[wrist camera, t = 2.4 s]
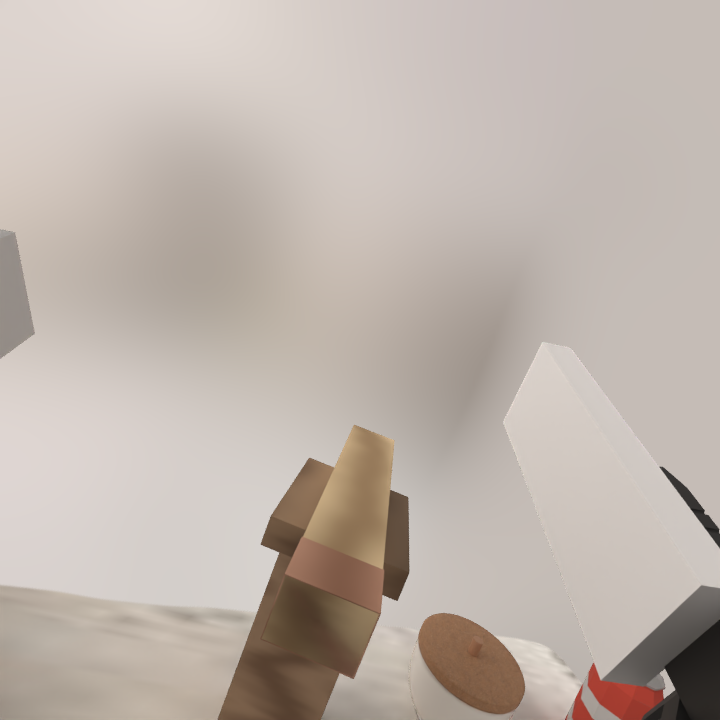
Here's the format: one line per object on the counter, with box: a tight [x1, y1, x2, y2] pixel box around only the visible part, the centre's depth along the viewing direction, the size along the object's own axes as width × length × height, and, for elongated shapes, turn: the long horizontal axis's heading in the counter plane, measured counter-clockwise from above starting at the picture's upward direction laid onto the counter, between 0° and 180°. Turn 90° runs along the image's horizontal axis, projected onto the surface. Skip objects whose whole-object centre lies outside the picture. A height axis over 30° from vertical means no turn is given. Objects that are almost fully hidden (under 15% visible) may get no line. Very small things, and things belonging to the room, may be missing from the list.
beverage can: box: [565, 663, 665, 720], centre depth 46 cm, size 6×6×12 cm
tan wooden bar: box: [260, 425, 394, 679], centre depth 30 cm, size 4×24×3 cm, turn 174°
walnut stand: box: [218, 458, 409, 720], centre depth 34 cm, size 9×11×22 cm
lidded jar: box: [409, 613, 525, 720], centre depth 45 cm, size 11×11×9 cm
